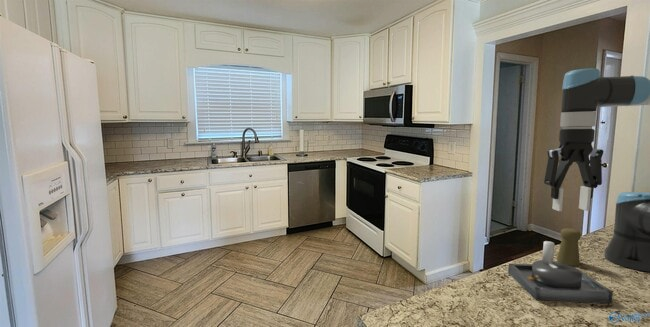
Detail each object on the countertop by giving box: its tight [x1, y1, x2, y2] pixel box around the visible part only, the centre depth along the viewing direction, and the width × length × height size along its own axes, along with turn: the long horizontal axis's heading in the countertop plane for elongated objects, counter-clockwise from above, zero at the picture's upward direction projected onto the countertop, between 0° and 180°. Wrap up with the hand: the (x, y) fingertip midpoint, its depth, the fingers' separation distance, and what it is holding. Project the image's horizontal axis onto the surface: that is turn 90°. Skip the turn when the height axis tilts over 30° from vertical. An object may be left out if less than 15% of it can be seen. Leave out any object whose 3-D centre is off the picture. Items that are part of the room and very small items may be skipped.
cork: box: [556, 227, 582, 267], centre depth 102 cm, size 6×6×11 cm
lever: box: [532, 240, 582, 289], centre depth 86 cm, size 11×11×9 cm
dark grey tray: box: [507, 263, 614, 304], centre depth 87 cm, size 18×15×3 cm
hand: (570, 209), depth 88 cm, fingers open, 7 cm apart
